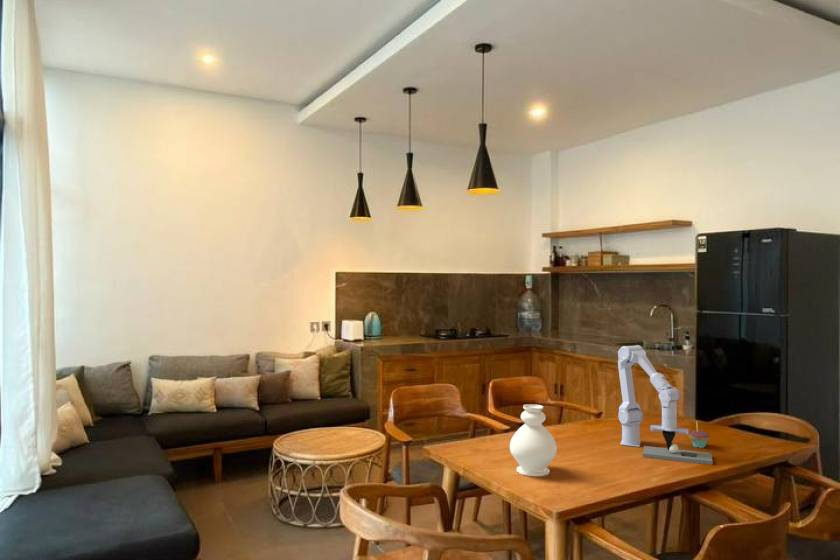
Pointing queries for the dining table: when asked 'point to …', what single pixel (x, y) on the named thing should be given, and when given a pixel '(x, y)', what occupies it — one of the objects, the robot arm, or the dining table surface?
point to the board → (677, 455)
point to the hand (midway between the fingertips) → (669, 449)
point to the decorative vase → (533, 443)
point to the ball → (673, 448)
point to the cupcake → (699, 437)
